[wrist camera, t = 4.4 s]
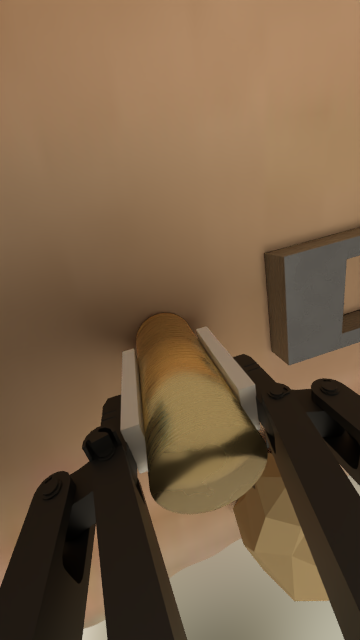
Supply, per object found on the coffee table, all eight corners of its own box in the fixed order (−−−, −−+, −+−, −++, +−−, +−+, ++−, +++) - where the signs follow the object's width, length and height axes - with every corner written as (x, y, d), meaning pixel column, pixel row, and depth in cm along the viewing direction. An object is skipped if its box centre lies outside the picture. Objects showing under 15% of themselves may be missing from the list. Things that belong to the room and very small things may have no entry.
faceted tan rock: (294, 499, 32) (383, 487, 25) (303, 623, 24) (441, 660, 16) (209, 441, 30) (277, 410, 23) (185, 551, 22) (281, 557, 15)
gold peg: (145, 370, 19) (166, 529, 9) (128, 322, 17) (132, 452, 7) (196, 354, 19) (271, 487, 9) (185, 306, 18) (263, 406, 8)
